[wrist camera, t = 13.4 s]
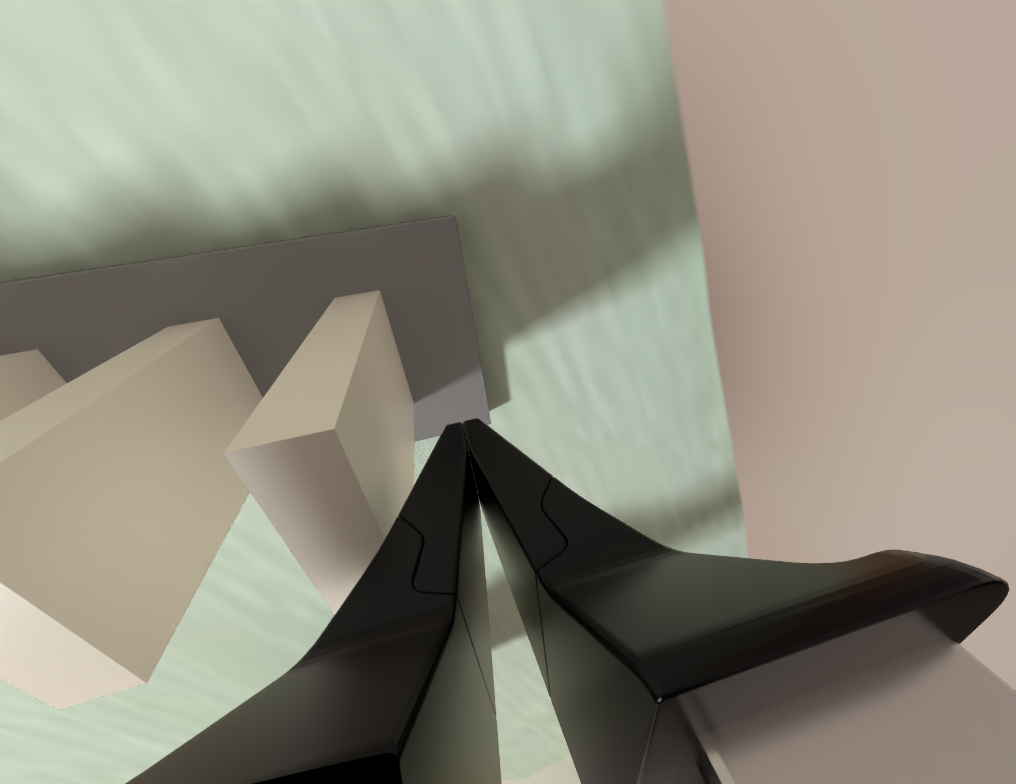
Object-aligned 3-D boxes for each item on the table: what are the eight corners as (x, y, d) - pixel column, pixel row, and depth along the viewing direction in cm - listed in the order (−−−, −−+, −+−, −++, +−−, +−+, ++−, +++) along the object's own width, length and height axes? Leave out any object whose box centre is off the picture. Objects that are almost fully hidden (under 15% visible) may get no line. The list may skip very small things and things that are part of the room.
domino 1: (282, 432, 15) (146, 683, 7) (241, 441, 15) (57, 709, 7) (218, 317, 12) (-89, 521, 5) (168, 326, 12) (-237, 554, 5)
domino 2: (413, 403, 16) (414, 604, 8) (376, 411, 16) (341, 626, 8) (379, 290, 13) (334, 428, 6) (334, 297, 13) (223, 452, 5)
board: (487, 412, 18) (491, 423, 17) (-262, 582, 14) (-306, 607, 13) (452, 215, 13) (455, 217, 13) (-679, 383, 9) (-787, 403, 9)
